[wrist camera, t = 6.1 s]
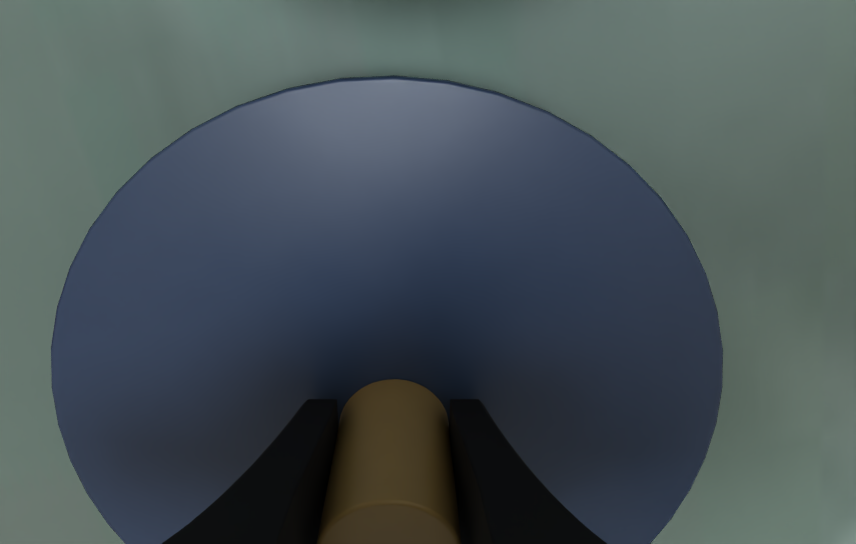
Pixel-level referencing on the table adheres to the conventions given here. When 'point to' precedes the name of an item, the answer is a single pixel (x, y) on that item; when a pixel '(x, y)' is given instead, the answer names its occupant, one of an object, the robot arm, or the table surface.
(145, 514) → the tin lid
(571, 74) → the table surface
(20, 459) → the table surface
